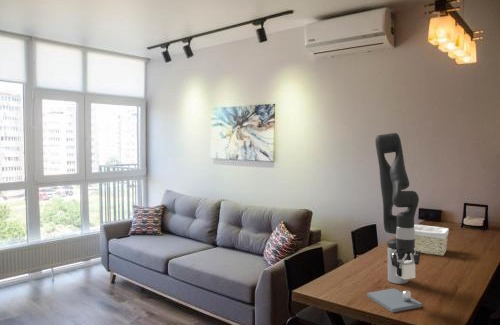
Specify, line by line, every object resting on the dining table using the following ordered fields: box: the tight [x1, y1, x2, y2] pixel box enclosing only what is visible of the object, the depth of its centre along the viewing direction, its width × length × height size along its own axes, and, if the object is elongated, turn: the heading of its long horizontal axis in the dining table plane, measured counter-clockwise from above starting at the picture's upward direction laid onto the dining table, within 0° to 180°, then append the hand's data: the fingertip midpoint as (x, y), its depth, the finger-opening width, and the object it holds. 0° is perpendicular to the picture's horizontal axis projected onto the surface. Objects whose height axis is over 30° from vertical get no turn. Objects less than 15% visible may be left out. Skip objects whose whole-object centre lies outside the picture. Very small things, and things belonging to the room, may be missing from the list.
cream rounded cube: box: [396, 260, 416, 280], centre depth 167 cm, size 6×6×6 cm
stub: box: [402, 290, 412, 302], centre depth 168 cm, size 3×3×4 cm
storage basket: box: [414, 224, 450, 256], centre depth 242 cm, size 24×16×15 cm
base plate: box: [366, 287, 423, 313], centre depth 171 cm, size 15×18×2 cm
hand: (405, 275), depth 167 cm, fingers closed on cream rounded cube, 5 cm apart
